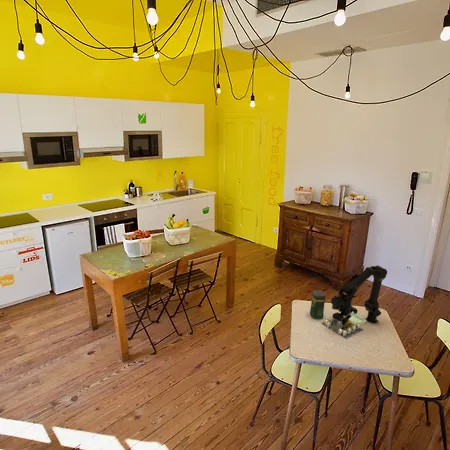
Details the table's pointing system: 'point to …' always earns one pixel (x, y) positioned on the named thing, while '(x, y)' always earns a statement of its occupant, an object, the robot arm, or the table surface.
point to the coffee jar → (317, 304)
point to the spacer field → (342, 327)
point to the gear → (348, 323)
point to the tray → (357, 319)
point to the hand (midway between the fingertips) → (343, 324)
